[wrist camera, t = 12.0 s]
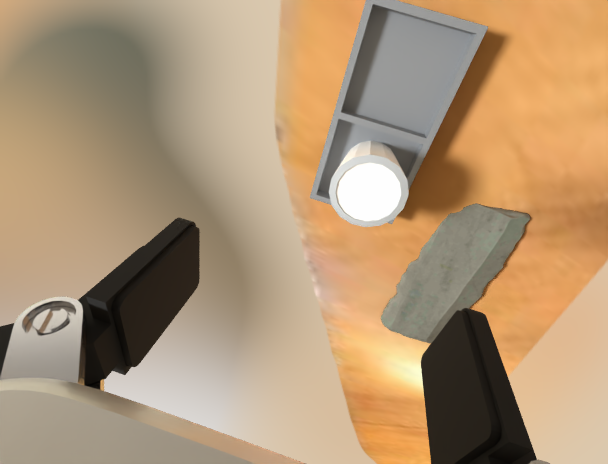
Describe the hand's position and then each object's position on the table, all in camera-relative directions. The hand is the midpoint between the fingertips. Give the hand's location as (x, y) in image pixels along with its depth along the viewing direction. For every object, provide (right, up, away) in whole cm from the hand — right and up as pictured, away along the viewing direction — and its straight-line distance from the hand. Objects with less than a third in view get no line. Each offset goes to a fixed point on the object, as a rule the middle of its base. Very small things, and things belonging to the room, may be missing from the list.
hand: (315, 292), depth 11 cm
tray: (+8, +13, +20) cm, 25 cm away
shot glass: (+7, +9, +21) cm, 24 cm away
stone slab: (+18, -3, +28) cm, 34 cm away
